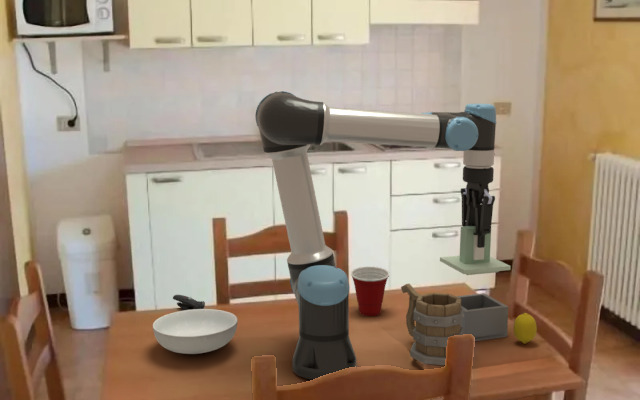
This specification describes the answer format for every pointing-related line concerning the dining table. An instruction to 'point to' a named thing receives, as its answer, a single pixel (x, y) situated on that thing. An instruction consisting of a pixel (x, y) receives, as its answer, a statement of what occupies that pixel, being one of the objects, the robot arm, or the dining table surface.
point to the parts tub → (484, 317)
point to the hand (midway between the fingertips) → (474, 257)
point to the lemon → (525, 328)
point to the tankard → (432, 324)
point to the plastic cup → (369, 288)
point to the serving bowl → (195, 330)
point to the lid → (465, 259)
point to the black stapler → (188, 303)
